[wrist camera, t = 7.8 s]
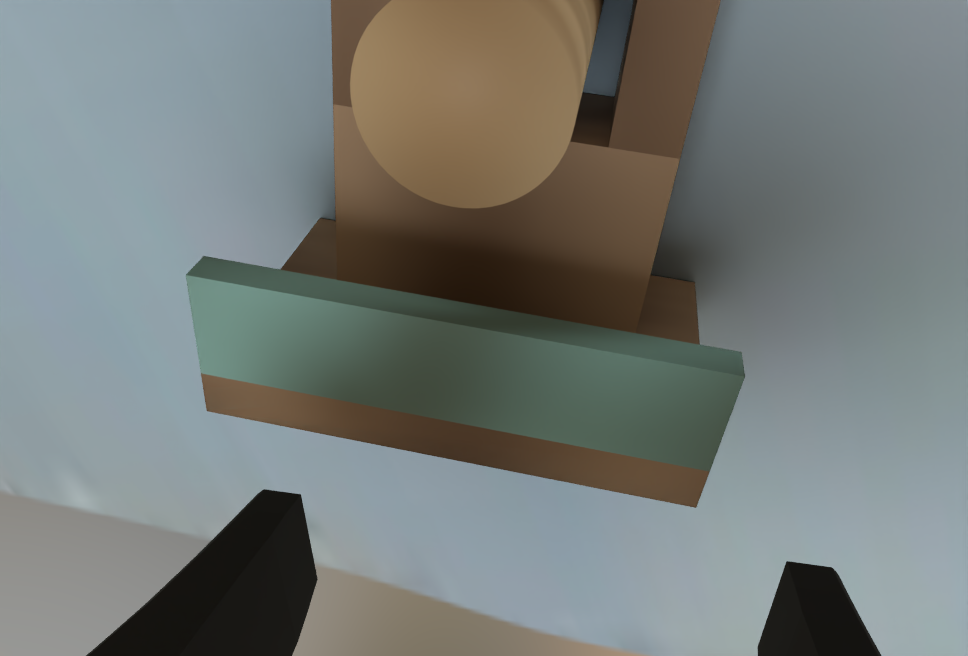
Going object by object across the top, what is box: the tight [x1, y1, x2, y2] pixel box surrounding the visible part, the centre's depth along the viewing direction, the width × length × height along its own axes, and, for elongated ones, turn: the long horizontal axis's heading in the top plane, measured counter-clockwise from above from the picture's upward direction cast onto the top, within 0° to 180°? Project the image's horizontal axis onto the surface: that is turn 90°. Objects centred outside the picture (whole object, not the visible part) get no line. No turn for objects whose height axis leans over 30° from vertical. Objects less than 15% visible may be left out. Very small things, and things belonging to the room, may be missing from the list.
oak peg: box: [350, 0, 604, 208], centre depth 13 cm, size 3×3×8 cm
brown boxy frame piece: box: [186, 0, 745, 508], centre depth 15 cm, size 10×11×7 cm
